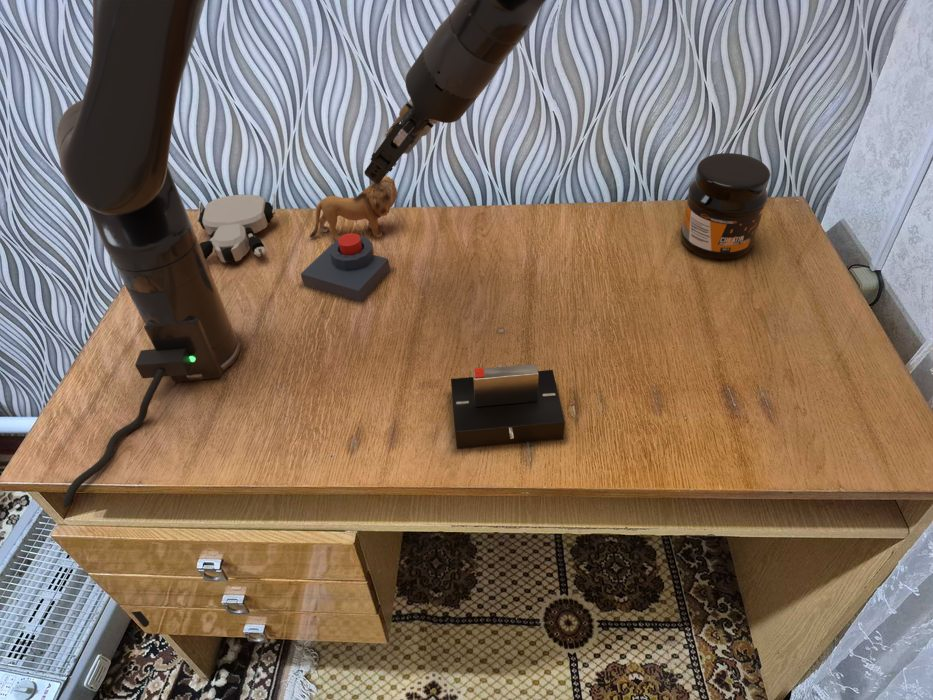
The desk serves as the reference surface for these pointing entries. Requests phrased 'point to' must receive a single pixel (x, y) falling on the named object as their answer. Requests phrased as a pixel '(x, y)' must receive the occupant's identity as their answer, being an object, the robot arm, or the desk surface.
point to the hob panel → (507, 416)
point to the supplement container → (725, 205)
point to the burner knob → (505, 385)
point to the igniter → (346, 271)
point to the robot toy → (235, 225)
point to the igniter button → (350, 244)
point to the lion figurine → (357, 207)
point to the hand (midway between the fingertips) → (386, 159)
